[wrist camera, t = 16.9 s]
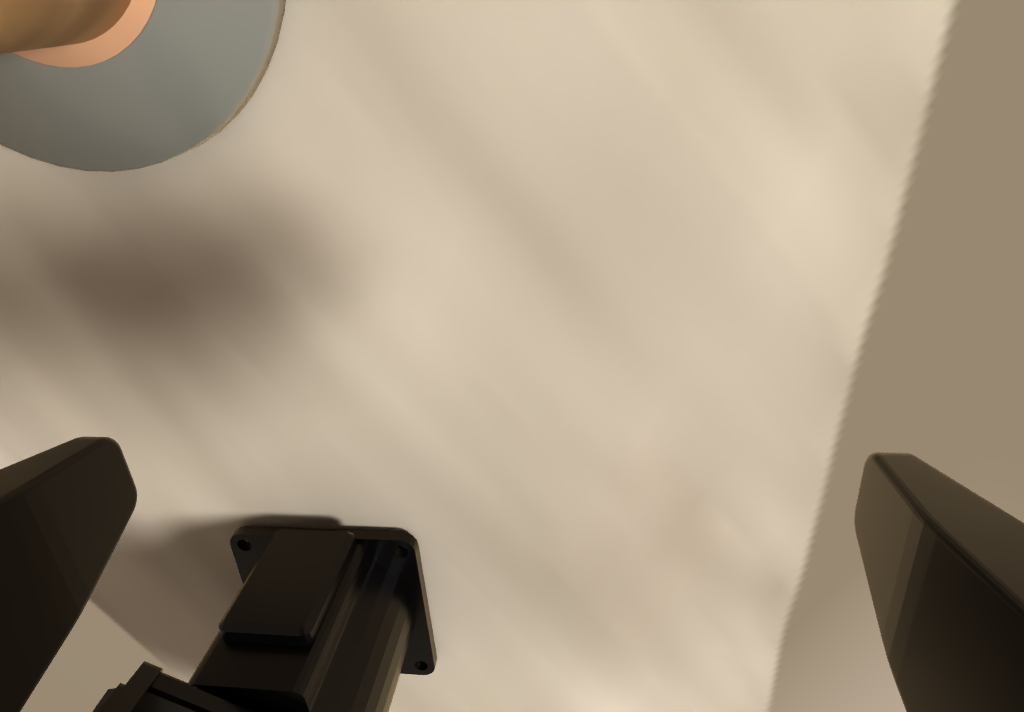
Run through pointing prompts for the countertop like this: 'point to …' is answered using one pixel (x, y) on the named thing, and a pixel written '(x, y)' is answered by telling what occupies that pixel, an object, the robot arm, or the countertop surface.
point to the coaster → (139, 84)
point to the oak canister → (55, 22)
